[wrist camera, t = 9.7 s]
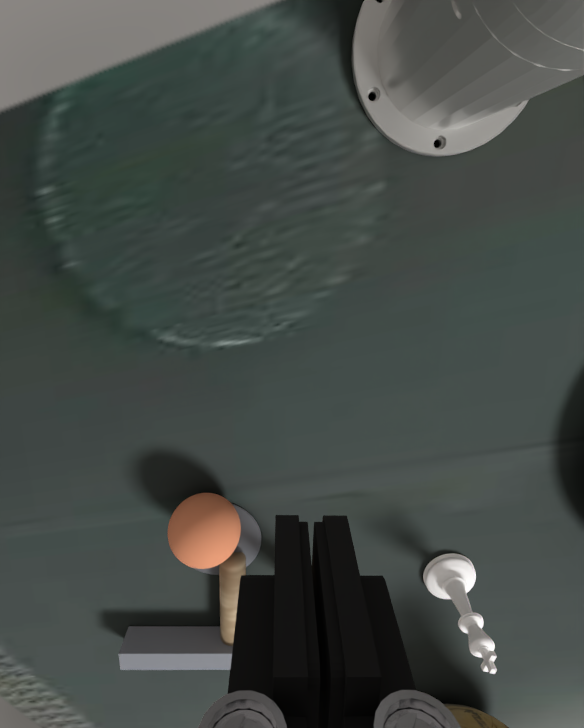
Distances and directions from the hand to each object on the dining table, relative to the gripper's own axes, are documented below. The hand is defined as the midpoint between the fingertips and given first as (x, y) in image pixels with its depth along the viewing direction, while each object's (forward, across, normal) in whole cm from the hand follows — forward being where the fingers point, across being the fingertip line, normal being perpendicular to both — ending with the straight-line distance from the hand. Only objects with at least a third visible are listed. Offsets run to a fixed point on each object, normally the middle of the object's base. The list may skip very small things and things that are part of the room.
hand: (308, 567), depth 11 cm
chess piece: (+27, -16, +25) cm, 40 cm away
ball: (+24, +7, +18) cm, 31 cm away
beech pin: (+26, +5, +22) cm, 35 cm away
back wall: (+27, +6, +32) cm, 43 cm away
